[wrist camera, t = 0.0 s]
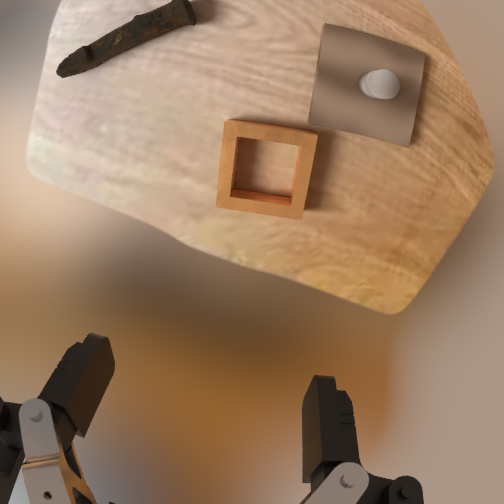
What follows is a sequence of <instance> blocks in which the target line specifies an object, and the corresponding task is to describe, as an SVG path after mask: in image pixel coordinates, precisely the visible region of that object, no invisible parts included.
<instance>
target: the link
mask: <svg viewBox="0 0 504 504" xmlns="http://www.w3.org/2000/svg"><path fill="white" fill-rule="evenodd" d="M240 137H245V138H252V139H259V140H266V141H273V142H279V143H286V144H292V145H297V146H299V151H298V157H297V162H296V168H295V174H294V179H293V185H292V190H291V196H290V198H289V197H283V196H277V195H271V194H264V193H257V192H251V191H244V190H237V189H233V188H234V179H235V171H236V163H237V154H238V146H239V138H240ZM317 138H318V135H317V134H316V133H315V132H311V131H306V130H300V129H294V128H288V127H282V126H276V125H269V124H262V123H255V122H247V121H239V120H230V119H229V120H227V121H225V122H224V131H223V139H222V149H221V158H220V168H219V178H218V188H217V199H216V207H218V208H225V209H232V210H239V211H246V212H253V213H259V214H266V215H272V216H279V217H285V218H291V219H297V220H302V215H303V210H304V205H305V200H306V195H307V190H308V185H309V180H310V175H311V170H312V165H313V160H314V154H315V149H316V143H317Z"/></svg>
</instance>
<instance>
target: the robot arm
mask: <svg viewBox="0 0 504 504" xmlns="http://www.w3.org/2000/svg"><path fill="white" fill-rule="evenodd" d="M114 370H115V361H114V357H113V353H112V349H111V345H110V341H109V339H108V338H107V337H105V336H100V335H97V334H94V333H90V334H88V335H87V337H86V338H85V340H84V341H83V343H79V342H77V343H75V344H74V345H73V346H71V347H70V348H69V349H68V350H67V351H66V353H65V354H64V356H63V357H62V360H61V361H60V362H59V364H58V365H57V368H56V369H55V370H54V372H53V373H52V375H51V377H50V378H49V380H48V381H47V383H46V385H45V387H44V388H43V390H42V392H41V393H40V395H39V396H38V397H37V398H36V399H30V400H28V401H26V402H25V403H23V404H17V403H10V402H4V401H3V400H2V398H1V397H0V504H8V502H9V499H10V496H11V493H12V490H13V488H14V484H15V482H16V479H17V476H18V473H19V471H20V468H21V466H22V472H23V477H24V481H25V485H26V489H27V493H28V497H29V500H30V504H97V502H96V500H95V497H94V495H93V493H92V491H91V489H90V488H89V486H88V485H87V483H86V481H85V478H84V475H83V472H82V469H81V466H80V463H79V460H78V457H77V454H76V450H75V447H74V444H73V438H74V436H75V434H76V435H78V436H80V437H83V438H84V437H85V435H86V432H87V430H88V428H89V426H90V423H91V421H92V419H93V417H94V414H95V412H96V410H97V408H98V406H99V404H100V401H101V399H102V397H103V395H104V393H105V391H106V389H107V387H108V385H109V382H110V380H111V378H112V376H113V373H114ZM353 414H354V413H353V406H352V401H351V400H350V398H349V396H348V395H347V393H346V391H340V390H337V389H336V382H335V378H334V377H333V376H322V375H314V377H313V378H312V381H311V383H310V385H309V387H308V390H307V392H306V394H305V397H304V400H303V405H302V444H303V483H311V492H310V493H309V494H308V495H307V496H306V497H305V498H304V499H303V501H302V502H301V503H300V504H424V500H423V491H422V486H421V484H420V483H419V481H418V480H417V479H415V478H413V477H410V476H401V477H398V478H397V479H395V480H391V479H386V478H382V477H378V476H374V475H372V474H370V473H368V472H367V471H366V470H365V469H364V468H363V466H362V465H361V462H360V459H359V451H358V443H357V435H356V428H355V425H354V424H355V420H354V416H353ZM25 457H26V462H25V463H23V460H24V458H25ZM22 463H23V464H22ZM109 504H114V503H112V502H109Z"/></svg>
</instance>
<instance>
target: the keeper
mask: <svg viewBox="0 0 504 504" xmlns="http://www.w3.org/2000/svg"><path fill="white" fill-rule="evenodd" d="M424 62H425V53H423V52H420V51H417V50H415V49H412V48H409V47H407V46H404V45H401V44H398V43H395V42H392V41H389V40H386V39H383V38H380V37H377V36H373V35H370V34H367V33H363V32H359V31H356V30H352V29H348V28H344V27H340V26H335V25H331V24H326V23H325V24H324V26H323V28H322V35H321V42H320V49H319V55H318V62H317V68H316V75H315V81H314V88H313V94H312V100H311V106H310V112H309V118H308V123H309V124H312V125H317V126H322V127H327V128H332V129H337V130H341V131H346V132H350V133H354V134H359V135H363V136H367V137H371V138H375V139H378V140H382V141H386V142H390V143H393V144H397V145H400V146H404V147H407V148H409V144H410V140H411V135H412V130H413V126H414V121H415V116H416V111H417V106H418V100H419V94H420V89H421V82H422V76H423V69H424Z"/></svg>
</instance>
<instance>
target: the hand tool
mask: <svg viewBox="0 0 504 504" xmlns="http://www.w3.org/2000/svg"><path fill="white" fill-rule="evenodd" d="M186 24H191V25H195V24H196V20H195V16H194V12H193V9H192V6H191V4H190V1H188V0H172V2H170V3H168V4H166V5H164V6H162V7H159V8H157V9H155V10H153V11H151V12H148V13H145V14H142V15H136V16H135V17H134V18H133V20H132V21H130V22H128V23H126V24H124V25H123V26H121V27H119V28H117V29H115V30H113V31H112V32H110V33H108V34H106V35H105V36H103V37H101V38H100V39H98V40H97V41H95V42H93V43H91V44H90V45H88V46H82V47H81V48H79V49H77V50H76V51H75V52H74V53H72V54H70V55H69V56H68V57H67V58H65V59H64V60H63V61H62V62H61V63H60V64H59V66H58V69H57V71H56V72H57V75H59V76H60V77H62V78H65V77H68V76H72V75H76V74H79V73H81V72H85V71H87V70H89V69H92V68H94V67H97V66H99V65H100V64H101V63H102V62H103V61H104V60H106V59H108V58H110V57H112V56H114V55H117V54H118V53H120V52H122V51H125V50H127V49H129V48H131V47H133V46H135V45H137V44H139V43H141V42H143V41H147V40H149V39H151V38H154V37H157V36H159V35H161V34H162V33H165V32H167V31H169V30H172V29H174V28H176V27H179V26H182V25H186Z"/></svg>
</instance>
